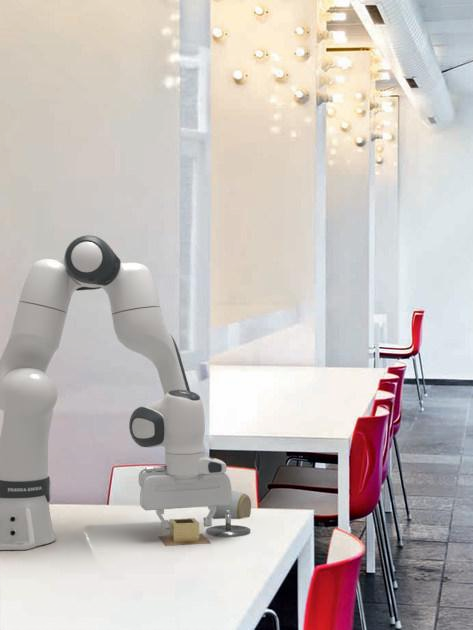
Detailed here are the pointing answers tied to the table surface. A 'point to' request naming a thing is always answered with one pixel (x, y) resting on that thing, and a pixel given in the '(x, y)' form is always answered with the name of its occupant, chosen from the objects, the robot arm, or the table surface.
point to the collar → (184, 530)
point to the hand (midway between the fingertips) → (186, 527)
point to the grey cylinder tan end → (235, 507)
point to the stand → (169, 542)
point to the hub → (228, 529)
